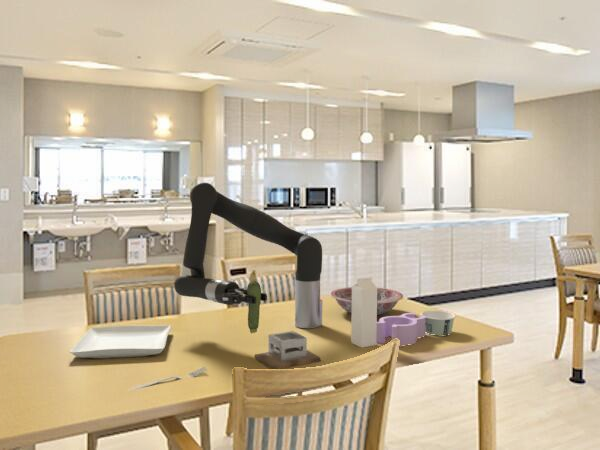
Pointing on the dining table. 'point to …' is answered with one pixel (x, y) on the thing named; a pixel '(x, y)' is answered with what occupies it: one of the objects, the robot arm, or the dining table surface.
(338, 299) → the ceramic bowl
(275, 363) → the brown rectangular board
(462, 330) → the dining table surface
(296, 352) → the gray slotted crate
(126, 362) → the dining table surface
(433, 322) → the food container
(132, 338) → the square plate
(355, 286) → the milk
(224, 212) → the robot arm
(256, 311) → the vegetable
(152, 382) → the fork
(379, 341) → the clip
